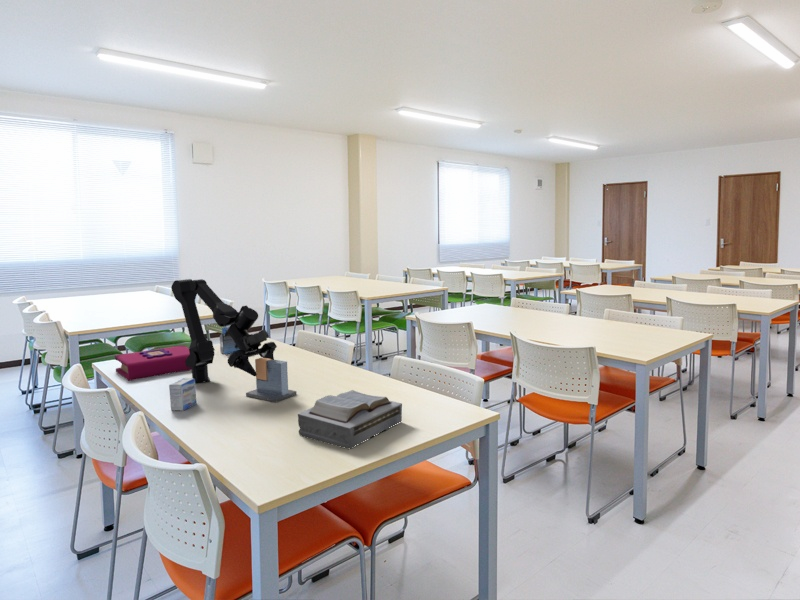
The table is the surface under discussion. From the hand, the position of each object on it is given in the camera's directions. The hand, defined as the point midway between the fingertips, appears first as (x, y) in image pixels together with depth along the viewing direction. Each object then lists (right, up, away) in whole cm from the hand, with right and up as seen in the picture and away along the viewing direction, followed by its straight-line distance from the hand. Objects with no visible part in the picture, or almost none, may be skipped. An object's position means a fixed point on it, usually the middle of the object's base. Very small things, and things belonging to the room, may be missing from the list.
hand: (265, 372), depth 188 cm
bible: (+32, -12, -32) cm, 47 cm away
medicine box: (-24, -10, -11) cm, 28 cm away
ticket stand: (+2, -8, 0) cm, 8 cm away
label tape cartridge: (-33, 0, +67) cm, 75 cm away
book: (-54, -4, +37) cm, 65 cm away
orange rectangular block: (-1, -2, +1) cm, 3 cm away
